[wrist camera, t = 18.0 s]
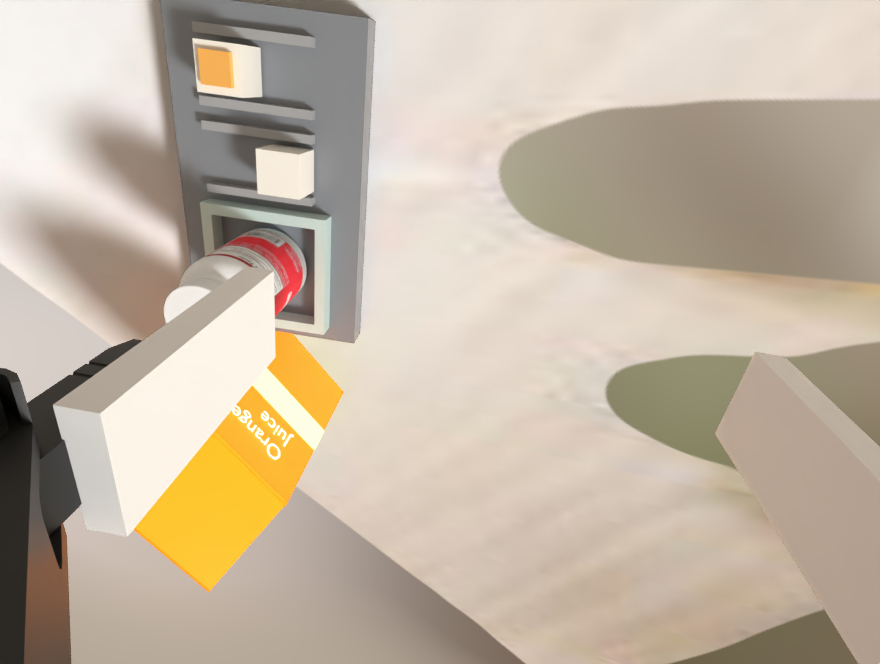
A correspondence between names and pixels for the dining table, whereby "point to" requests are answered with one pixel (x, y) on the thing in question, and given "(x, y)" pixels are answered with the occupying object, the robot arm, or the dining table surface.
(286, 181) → the toggle plain
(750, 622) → the dining table surface
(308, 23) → the panel
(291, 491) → the orange juice
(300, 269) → the pill bottle
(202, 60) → the block
